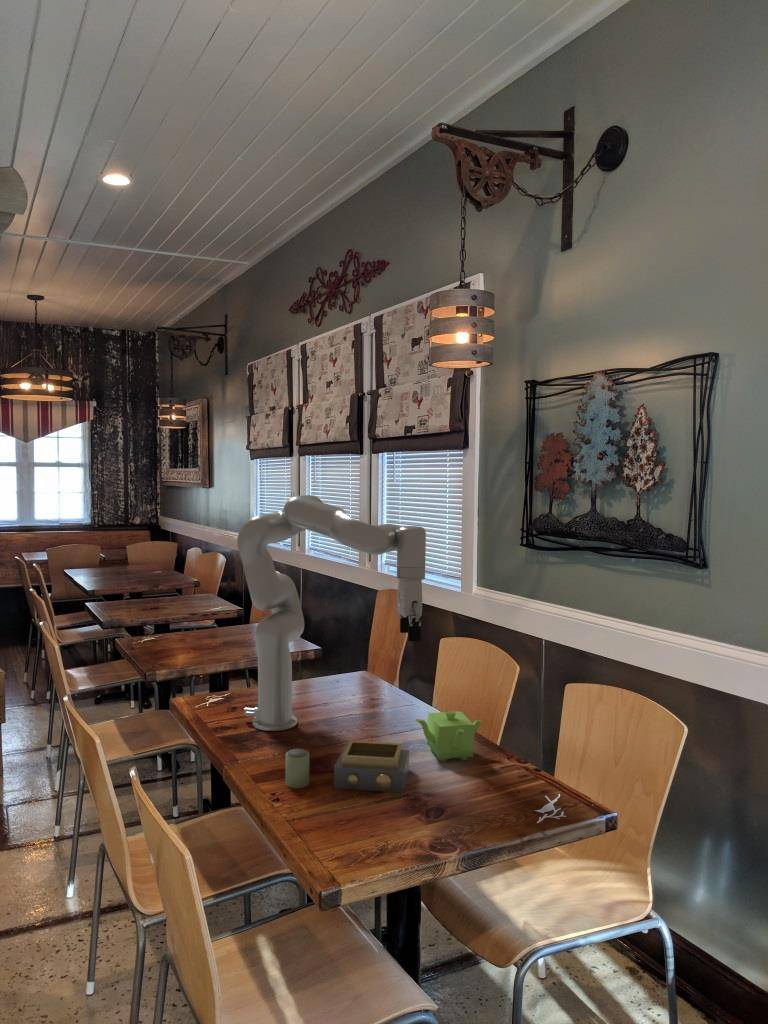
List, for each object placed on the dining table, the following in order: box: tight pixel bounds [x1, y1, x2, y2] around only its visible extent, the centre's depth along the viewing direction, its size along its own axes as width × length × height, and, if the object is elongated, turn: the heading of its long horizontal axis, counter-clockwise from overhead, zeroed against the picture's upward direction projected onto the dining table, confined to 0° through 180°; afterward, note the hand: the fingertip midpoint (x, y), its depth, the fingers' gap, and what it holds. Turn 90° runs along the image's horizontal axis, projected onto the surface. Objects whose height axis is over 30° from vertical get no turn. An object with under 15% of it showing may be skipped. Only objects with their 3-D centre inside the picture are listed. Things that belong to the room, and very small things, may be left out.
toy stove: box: [333, 740, 410, 794], centre depth 177 cm, size 16×14×7 cm
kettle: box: [414, 710, 483, 763], centre depth 193 cm, size 15×14×11 cm
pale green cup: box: [284, 748, 310, 789], centre depth 176 cm, size 6×7×7 cm
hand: (409, 636), depth 200 cm, fingers open, 9 cm apart
